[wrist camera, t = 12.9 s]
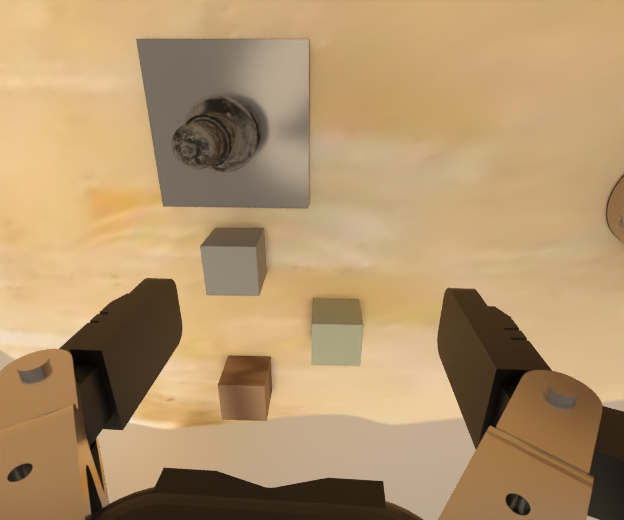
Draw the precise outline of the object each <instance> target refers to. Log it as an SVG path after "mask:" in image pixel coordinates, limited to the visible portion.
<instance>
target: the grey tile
mask: <svg viewBox="0 0 624 520" xmlns="http://www.w3.org/2000/svg"><path fill="white" fill-rule="evenodd" d="M136 40H137V46H138V53H139V59H140V65H141V71H142V78H143V84H144V90H145V96H146V102H147V109H148V115H149V121H150V127H151V133H152V140H153V146H154V152H155V158H156V164H157V171H158V177H159V183H160V189H161V195H162V202H163V206H174V207H247V208H308V207H309V39H136ZM213 95H221V96H227V97H230V98H232V99H237V100H240V101H242V102H244V103H245V104H247V105H248V106H249V107H250V108H251V109H252V110H253V111H254V113H255V114H256V116H257V118H258V120H259V123H260V128H261V138H260V141H259V145H258V147H257V148H256V150H255V153H254V155H253V156H252V158H251V159H250V161H249V162H248V163H247V164H246V165H244V166H243V167H242V168H240V169H237V170H235V171H231V172H218V171H214V170H211V169H209V168H207V167H206V168H204V169H200V170H195V169H190V168H187V167H185V166H184V165H182V164H181V163H180V162H179V161H178V160H177V159H176V157H175V155H174V153H173V150H172V137H173V135H174V133H175V132H176V130H177V129H178V128H179V127H181V126H183V125H185V120H186V116H187V114H188V112H189V111H190V109H191V107H192V106H193V105H194V104H195V103H196V102H197V101H199V100H201V99H203V98H205V97H207V96H213Z"/></svg>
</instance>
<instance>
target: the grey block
mask: <svg viewBox="0 0 624 520" xmlns="http://www.w3.org/2000/svg"><path fill="white" fill-rule="evenodd" d="M200 248H201V256H202V263H203V271H204V278H205V286H206V293H207V295H229V296H259V295H260V292H261V289H262V286H263V283H264V280H265V276H266V273H267V271H266V254H265V237H264V229H257V228H215V229H214V230H213V231H212V232H211V234H210V235H209V236H208V237H207V239H206V240H205V241H204V242H203V244H202V245H201V246H200Z"/></svg>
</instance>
